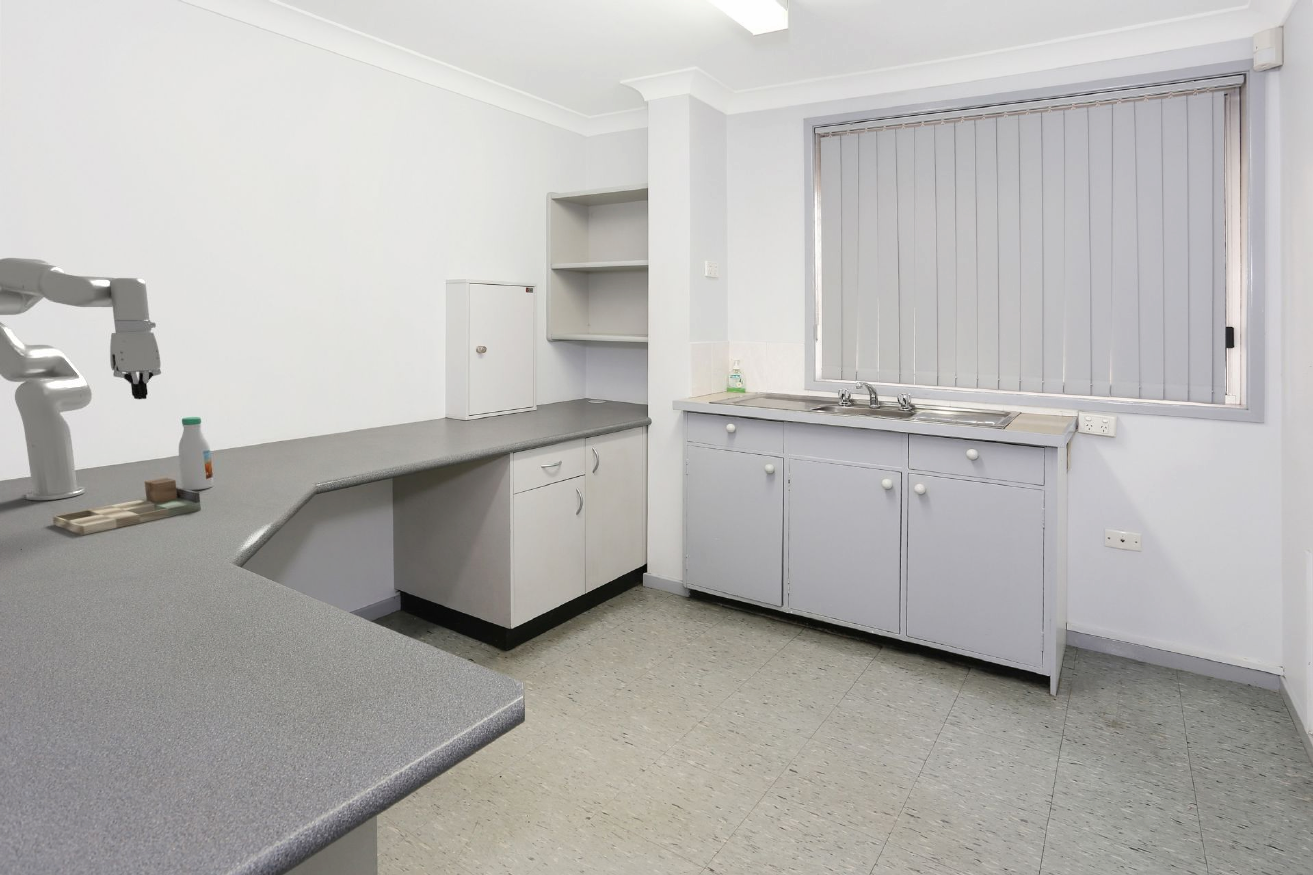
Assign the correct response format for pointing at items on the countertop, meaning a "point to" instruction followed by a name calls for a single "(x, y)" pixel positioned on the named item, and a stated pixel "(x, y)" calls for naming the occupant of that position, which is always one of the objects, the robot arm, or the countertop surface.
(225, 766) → the countertop surface
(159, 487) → the walnut block
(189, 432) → the milk bottle
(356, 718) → the countertop surface
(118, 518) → the trap board
